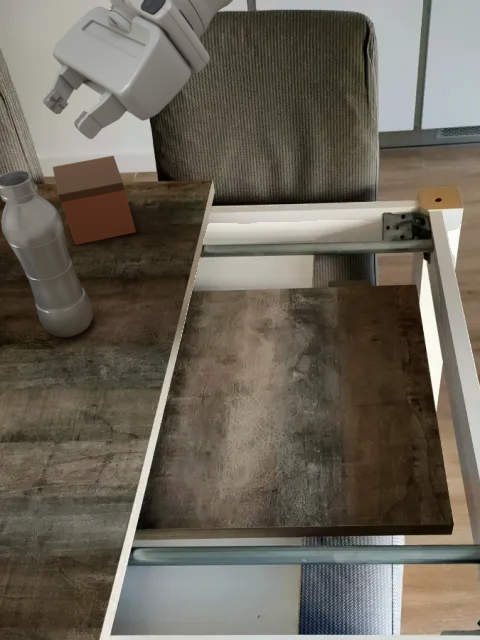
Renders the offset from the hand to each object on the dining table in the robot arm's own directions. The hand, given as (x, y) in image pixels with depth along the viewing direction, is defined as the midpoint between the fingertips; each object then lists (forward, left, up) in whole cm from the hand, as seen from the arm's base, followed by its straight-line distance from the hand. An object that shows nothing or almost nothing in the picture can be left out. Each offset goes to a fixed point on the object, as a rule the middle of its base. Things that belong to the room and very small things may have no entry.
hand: (64, 120), depth 68 cm
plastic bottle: (-7, -1, -25) cm, 26 cm away
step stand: (0, +23, -25) cm, 34 cm away
